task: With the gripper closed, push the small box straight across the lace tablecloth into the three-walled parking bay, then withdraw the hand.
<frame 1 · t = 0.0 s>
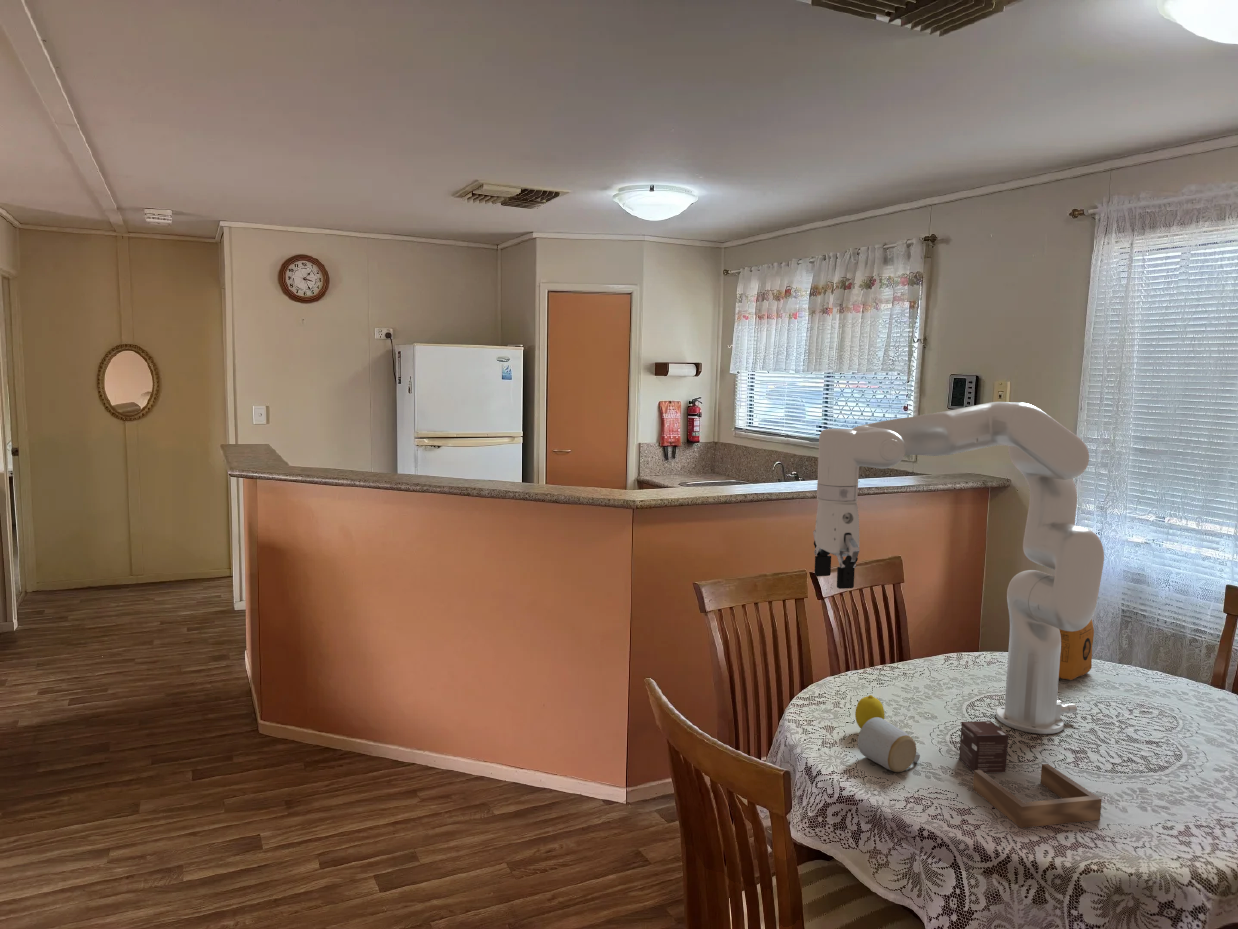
hand: (833, 581, 160), 31 cm above the table, tool pointing down, fingers open, 9 cm apart
ceramic mug: (890, 764, 153), on the table
bay: (1034, 804, 139), on the table
coffee package: (1064, 675, 201), on the table
box: (982, 767, 152), on the table
lemon: (868, 735, 165), on the table
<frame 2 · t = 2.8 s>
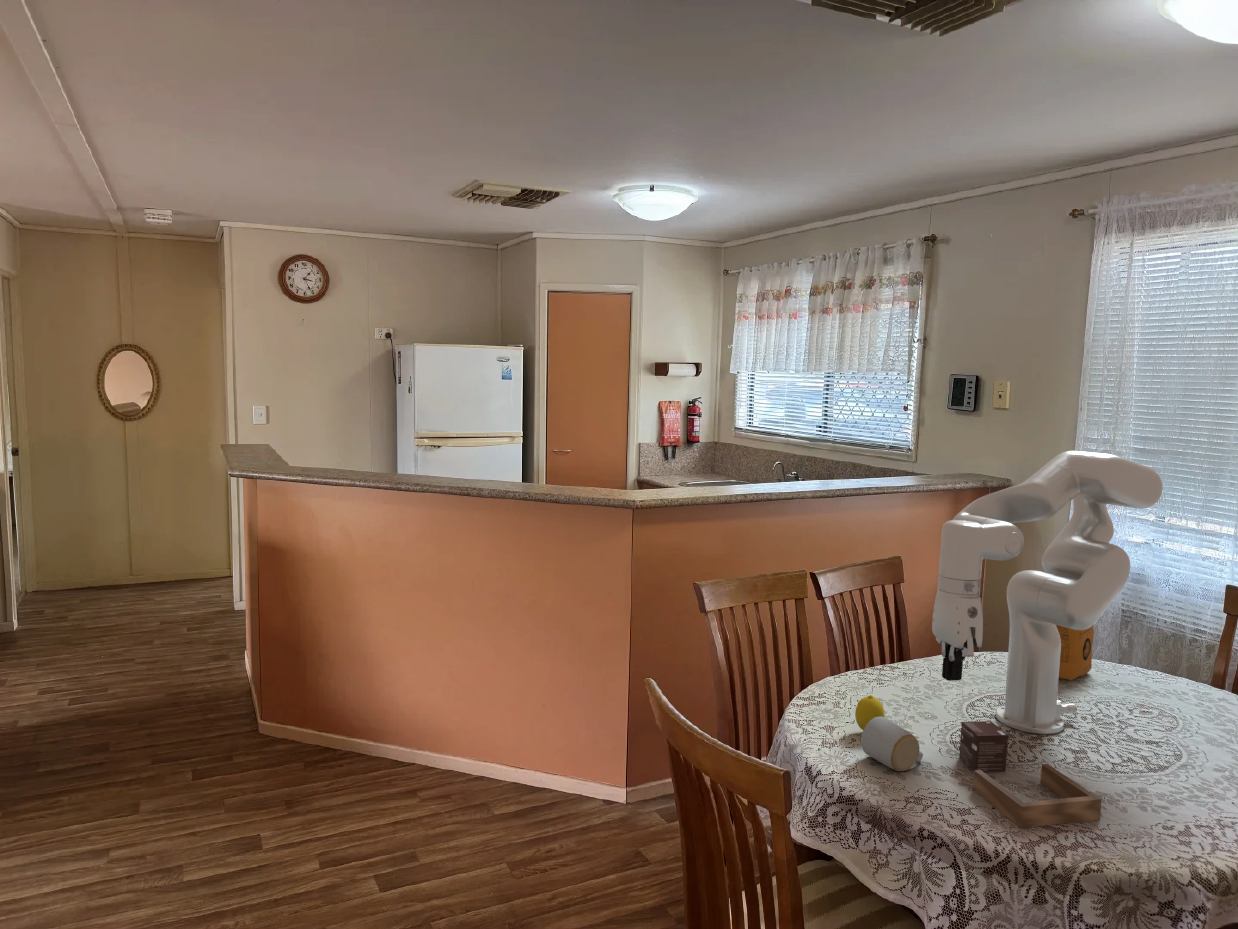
hand: (951, 678, 160), 13 cm above the table, tool pointing down, fingers closed
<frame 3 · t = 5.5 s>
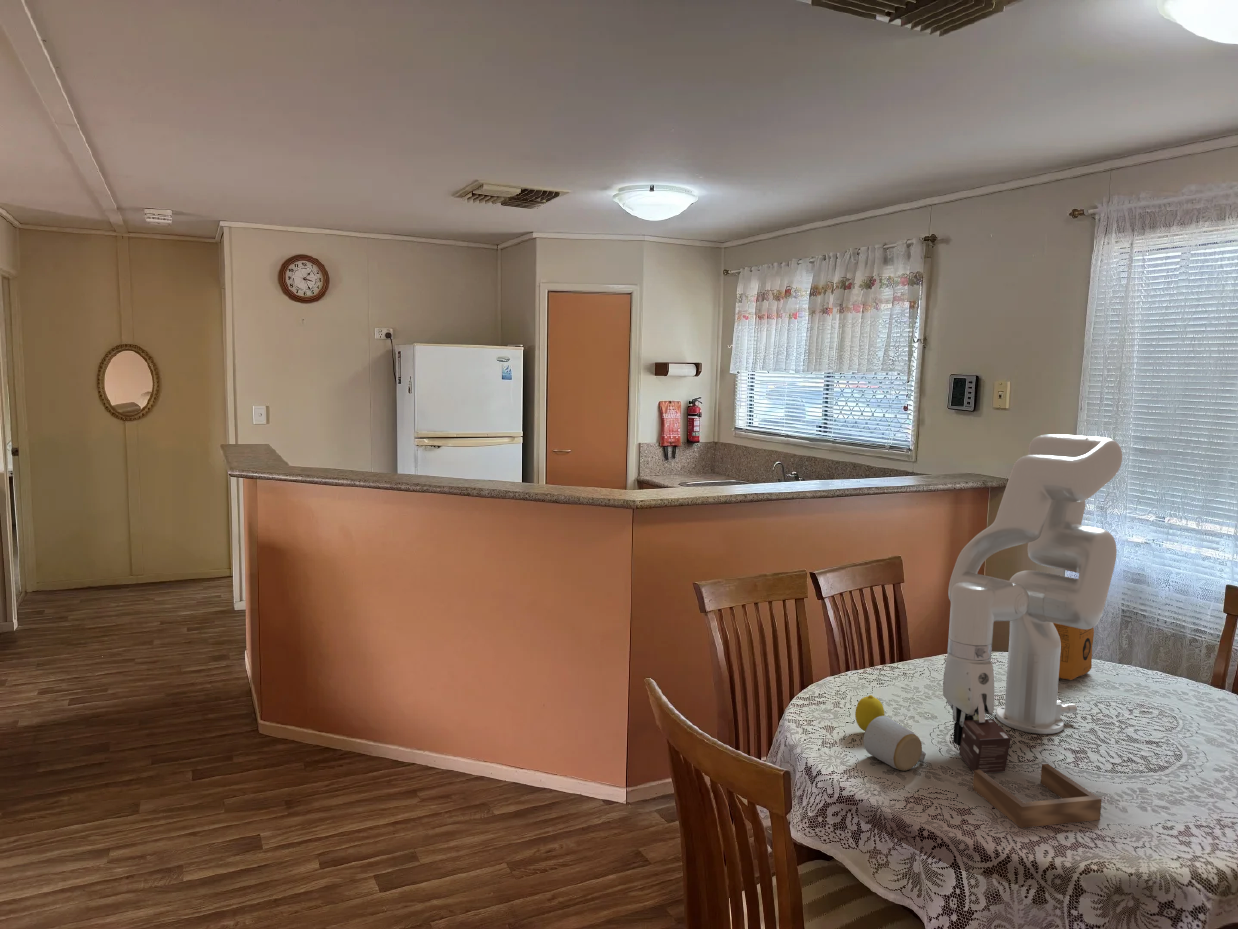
hand: (963, 744, 157), 2 cm above the table, tool pointing down, fingers closed
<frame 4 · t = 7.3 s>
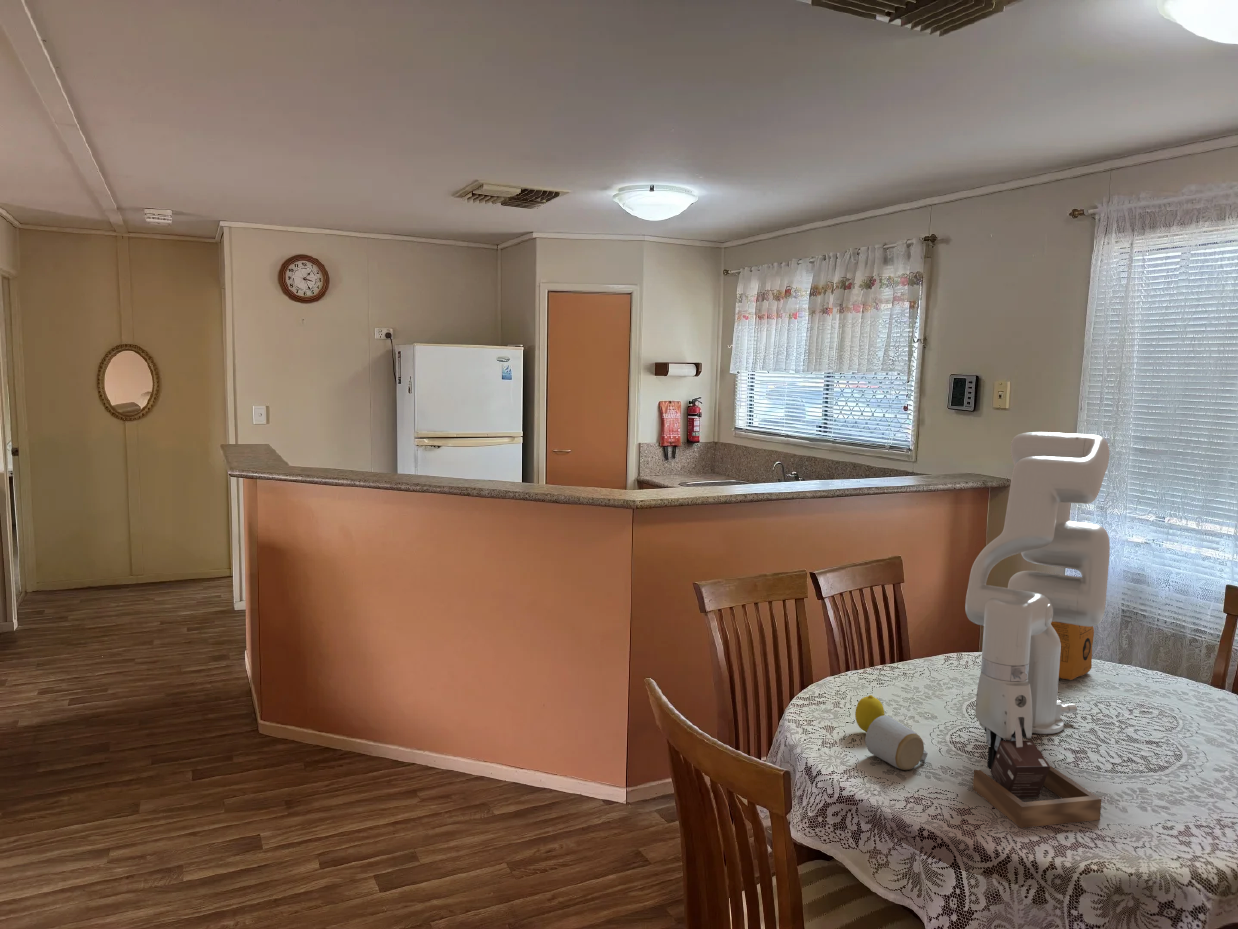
hand: (997, 769, 147), 2 cm above the table, tool pointing down, fingers closed
box: (1013, 786, 143), point 1 cm above the table, touching gripper
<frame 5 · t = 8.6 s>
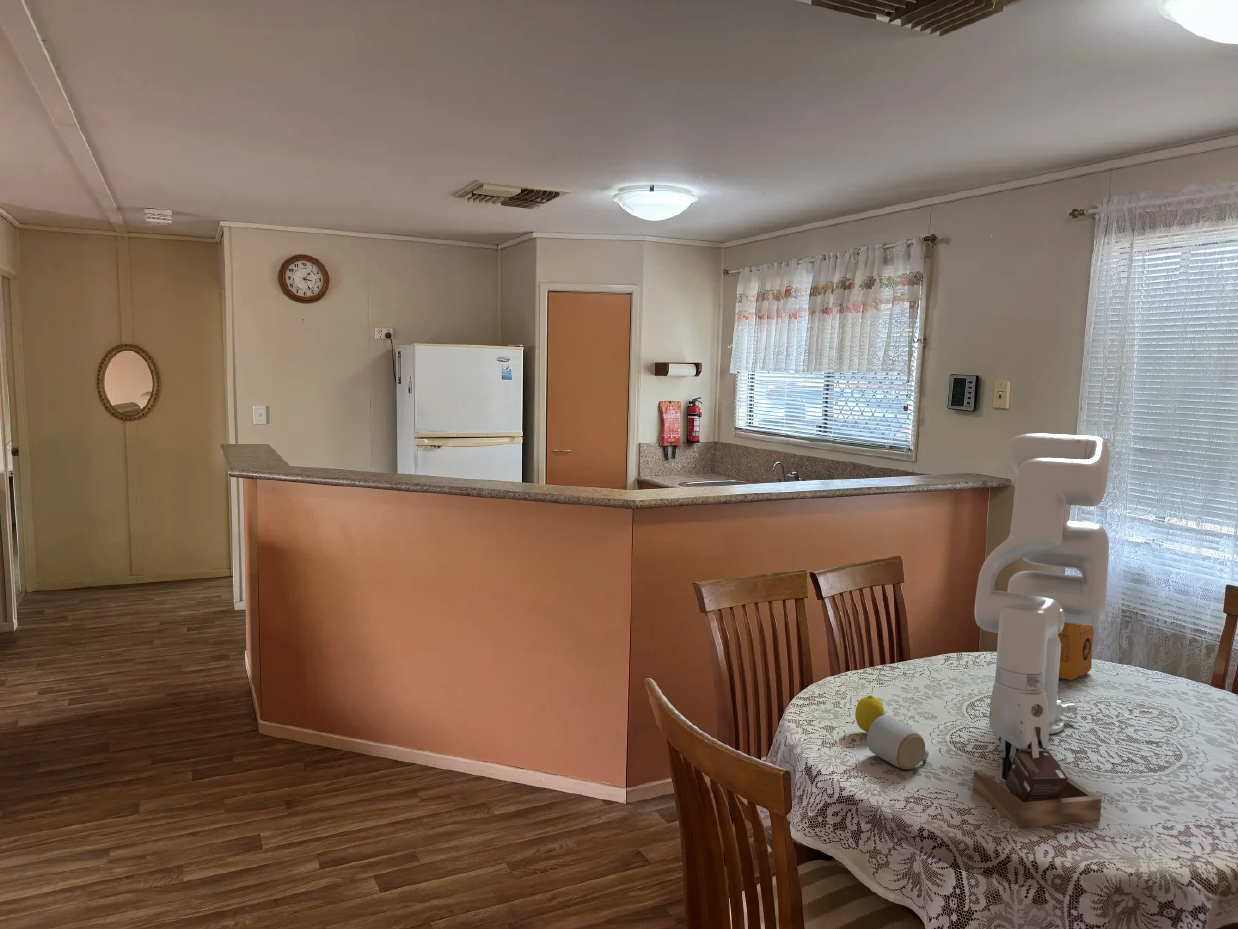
hand: (1012, 780, 143), 2 cm above the table, tool pointing down, fingers closed
box: (1029, 797, 139), point 1 cm above the table, touching gripper
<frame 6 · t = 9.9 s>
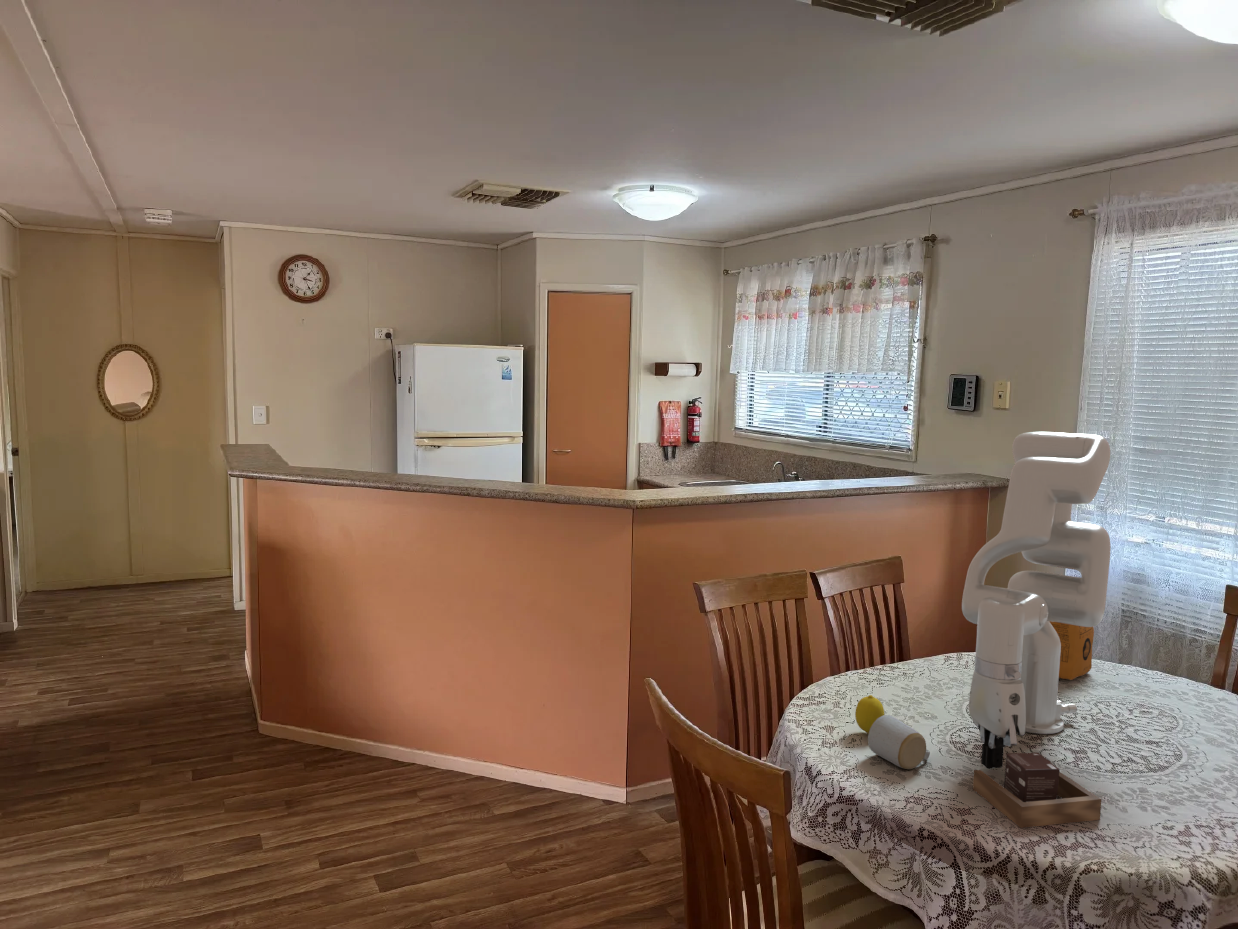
hand: (991, 766, 150), 1 cm above the table, tool pointing down, fingers closed
box: (1029, 803, 139), on the table
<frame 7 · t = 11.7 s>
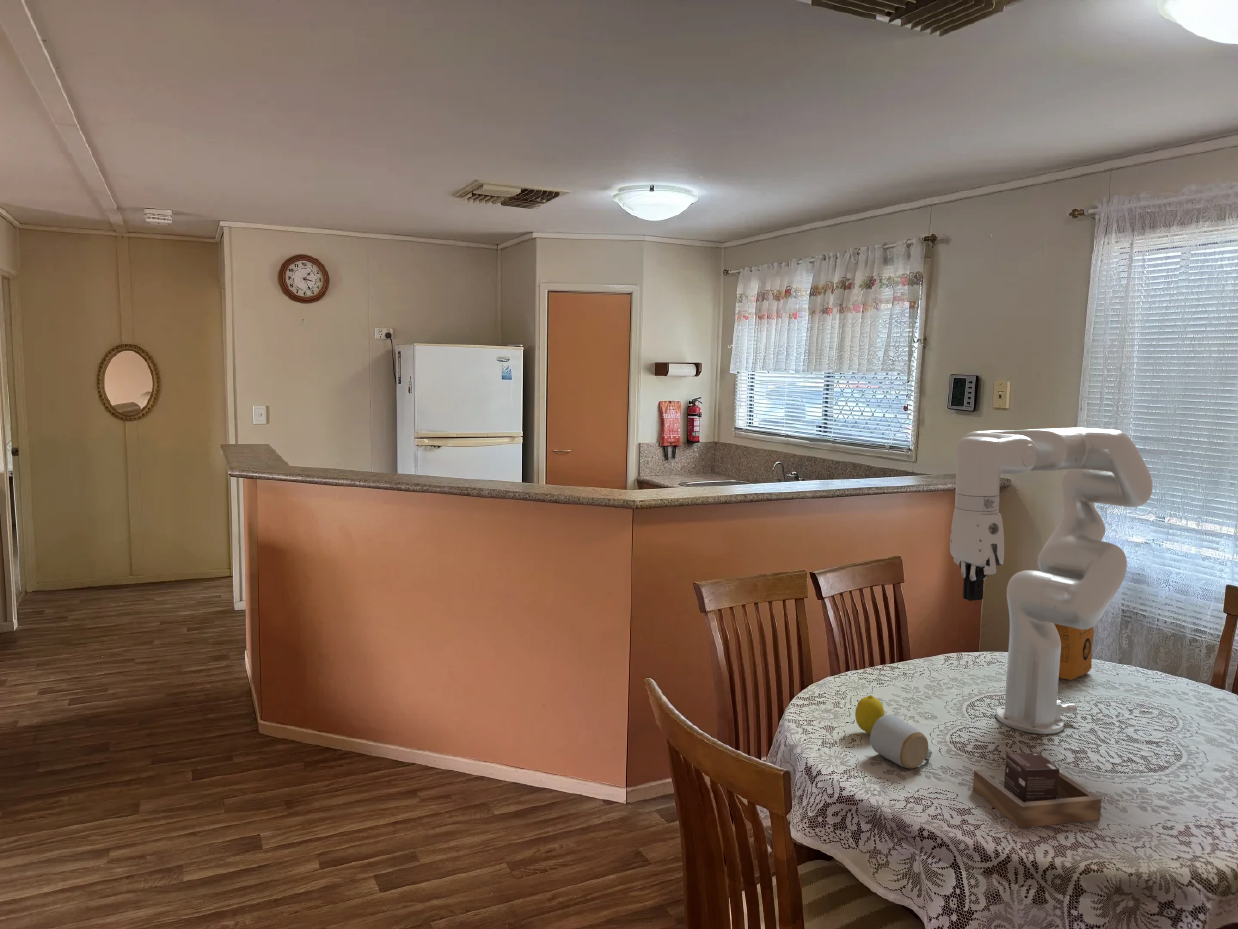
hand: (972, 599, 157), 29 cm above the table, tool pointing down, fingers closed
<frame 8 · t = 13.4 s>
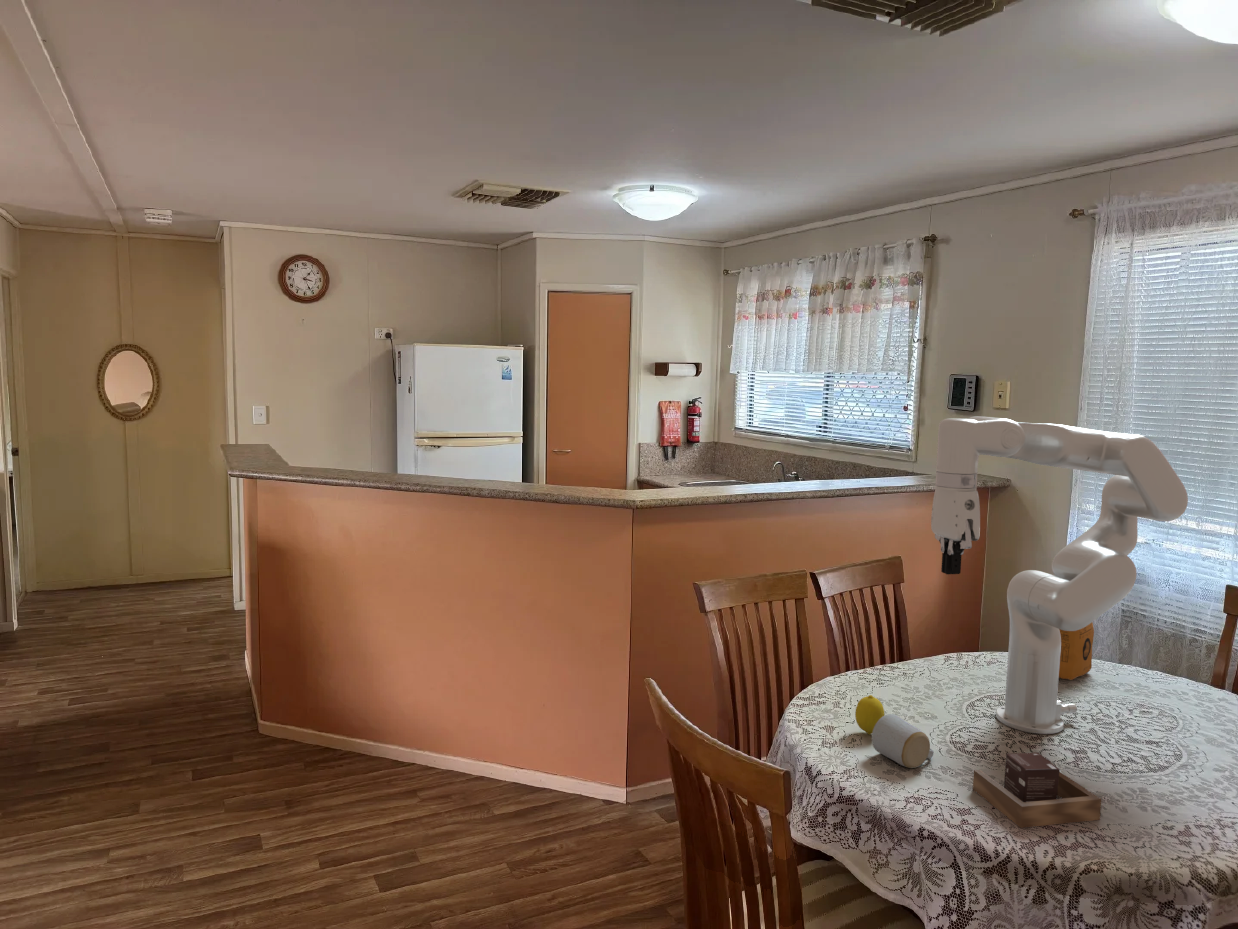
hand: (950, 573, 165), 32 cm above the table, tool pointing down, fingers closed
at the end: box inside the target area on the bay (1.9 cm from its centre), point 0.0 cm above the bay's base; box tilted 0° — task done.
